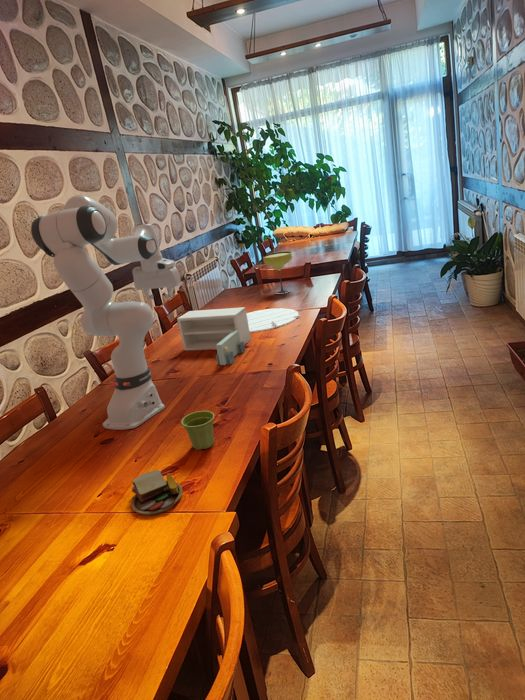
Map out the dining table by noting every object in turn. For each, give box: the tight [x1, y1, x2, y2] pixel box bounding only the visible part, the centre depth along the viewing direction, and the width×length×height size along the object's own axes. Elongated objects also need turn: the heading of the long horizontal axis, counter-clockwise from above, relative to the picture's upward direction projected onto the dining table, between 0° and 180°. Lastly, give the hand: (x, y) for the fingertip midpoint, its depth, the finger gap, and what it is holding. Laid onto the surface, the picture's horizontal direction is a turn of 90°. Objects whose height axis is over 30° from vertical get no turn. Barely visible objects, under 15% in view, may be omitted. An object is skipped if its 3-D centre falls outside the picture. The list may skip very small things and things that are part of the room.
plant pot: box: [180, 410, 215, 451], centre depth 135 cm, size 9×9×9 cm
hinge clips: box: [215, 342, 246, 366], centre depth 202 cm, size 16×6×4 cm, turn 159°
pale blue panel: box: [216, 330, 241, 366], centre depth 201 cm, size 18×4×9 cm, turn 159°
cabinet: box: [176, 306, 252, 351], centre depth 221 cm, size 12×30×16 cm, turn 69°
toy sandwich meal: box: [130, 469, 183, 516], centre depth 114 cm, size 12×14×5 cm
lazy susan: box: [246, 307, 301, 333], centre depth 251 cm, size 40×39×3 cm
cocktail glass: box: [262, 251, 293, 293], centre depth 302 cm, size 18×18×25 cm
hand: (160, 298), depth 191 cm, fingers open, 8 cm apart
